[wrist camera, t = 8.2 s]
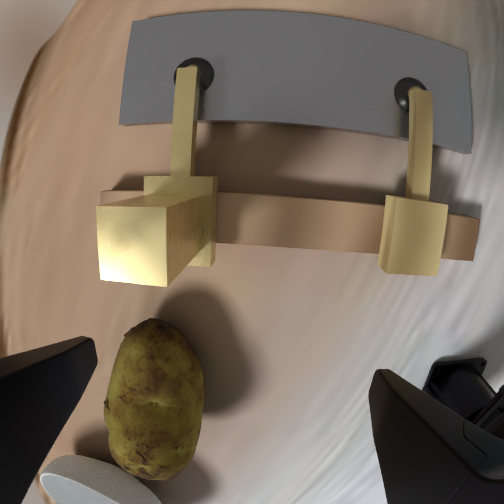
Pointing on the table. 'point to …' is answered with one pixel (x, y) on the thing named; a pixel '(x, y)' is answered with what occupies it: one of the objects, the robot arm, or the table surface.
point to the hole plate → (296, 73)
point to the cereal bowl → (93, 483)
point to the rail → (355, 215)
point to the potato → (154, 401)
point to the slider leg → (164, 209)
